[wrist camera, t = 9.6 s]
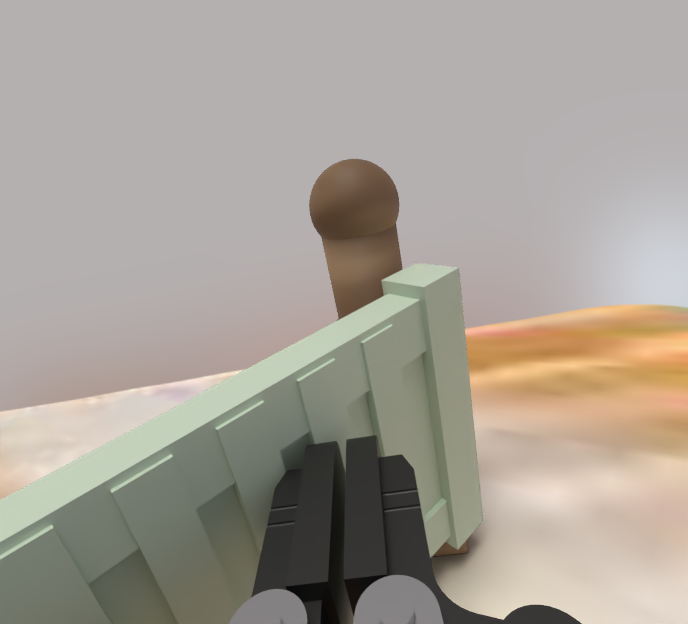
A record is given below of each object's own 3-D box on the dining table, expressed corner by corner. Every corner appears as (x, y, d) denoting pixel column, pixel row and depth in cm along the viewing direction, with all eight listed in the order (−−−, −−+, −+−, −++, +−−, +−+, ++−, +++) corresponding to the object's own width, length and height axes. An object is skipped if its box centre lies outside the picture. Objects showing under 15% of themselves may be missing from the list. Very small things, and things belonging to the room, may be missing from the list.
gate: (39, 1037, 8) (-402, 747, 4) (28, 932, 9) (-329, 635, 6) (483, 520, 17) (459, 267, 13) (447, 499, 18) (415, 262, 14)
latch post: (364, 564, 17) (270, 180, 12) (362, 486, 21) (290, 167, 15) (468, 552, 17) (421, 149, 11) (447, 475, 20) (404, 144, 15)
